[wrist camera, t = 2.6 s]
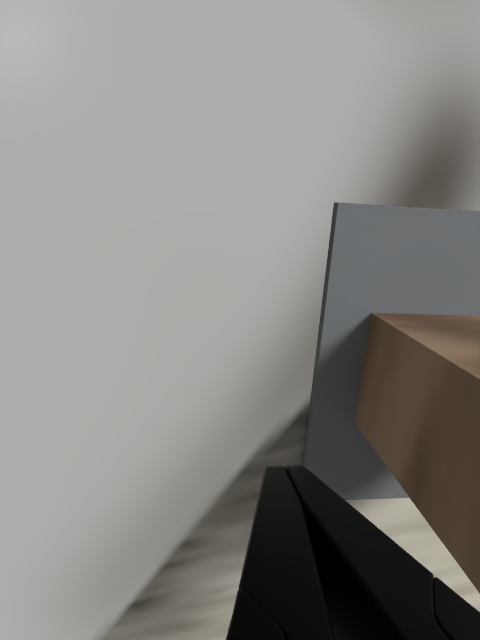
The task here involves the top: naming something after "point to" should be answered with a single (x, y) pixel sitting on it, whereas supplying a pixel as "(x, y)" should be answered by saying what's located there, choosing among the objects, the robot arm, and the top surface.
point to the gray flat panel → (379, 297)
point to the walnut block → (428, 420)
